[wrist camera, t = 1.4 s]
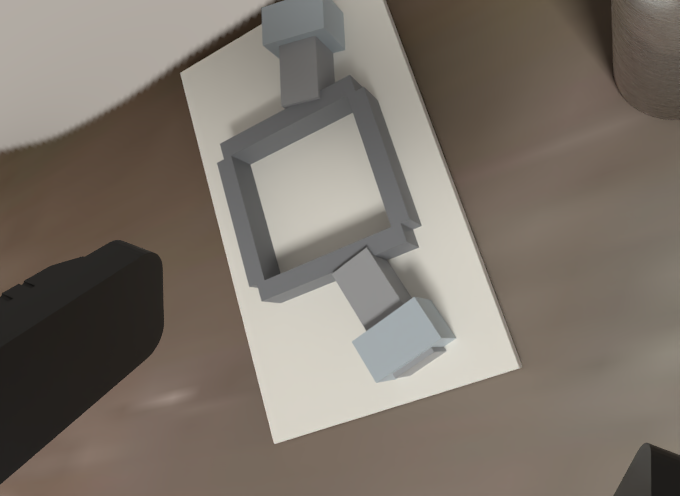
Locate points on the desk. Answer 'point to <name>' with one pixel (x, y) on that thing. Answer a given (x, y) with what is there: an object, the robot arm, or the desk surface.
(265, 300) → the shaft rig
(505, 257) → the desk surface
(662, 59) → the cylinder
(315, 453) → the desk surface
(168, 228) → the desk surface
